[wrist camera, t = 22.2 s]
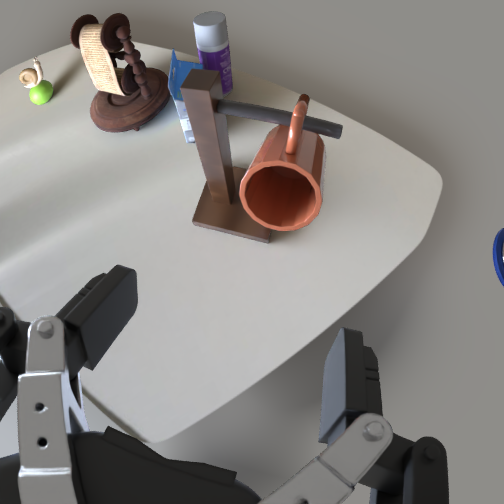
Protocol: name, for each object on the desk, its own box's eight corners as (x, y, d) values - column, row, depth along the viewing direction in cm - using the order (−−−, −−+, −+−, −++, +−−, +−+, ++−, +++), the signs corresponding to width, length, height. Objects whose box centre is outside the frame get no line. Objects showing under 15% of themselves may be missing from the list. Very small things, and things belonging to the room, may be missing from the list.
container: (231, 97, 47) (224, 25, 33) (203, 97, 47) (189, 27, 33) (234, 79, 48) (228, 10, 34) (207, 79, 48) (195, 12, 34)
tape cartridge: (211, 140, 45) (199, 82, 33) (186, 144, 45) (167, 87, 33) (210, 99, 47) (200, 42, 35) (186, 102, 47) (172, 47, 35)
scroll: (81, 127, 47) (28, 51, 27) (127, 72, 50) (95, -6, 31) (141, 147, 45) (92, 52, 25) (189, 84, 48) (167, -10, 29)
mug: (317, 185, 33) (310, 238, 26) (259, 171, 33) (236, 220, 27) (341, 97, 26) (344, 128, 19) (273, 82, 26) (250, 106, 20)
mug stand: (193, 225, 41) (139, 117, 20) (214, 167, 43) (186, 43, 22) (299, 251, 40) (343, 156, 19) (313, 190, 42) (353, 71, 21)
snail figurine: (57, 102, 49) (31, 65, 37) (34, 112, 49) (7, 78, 37) (63, 86, 50) (39, 49, 39) (40, 95, 50) (15, 61, 39)
